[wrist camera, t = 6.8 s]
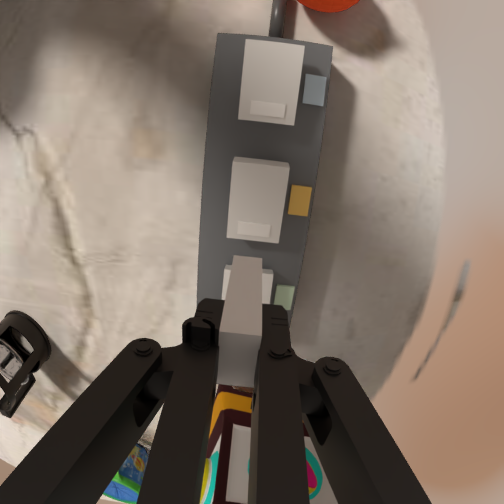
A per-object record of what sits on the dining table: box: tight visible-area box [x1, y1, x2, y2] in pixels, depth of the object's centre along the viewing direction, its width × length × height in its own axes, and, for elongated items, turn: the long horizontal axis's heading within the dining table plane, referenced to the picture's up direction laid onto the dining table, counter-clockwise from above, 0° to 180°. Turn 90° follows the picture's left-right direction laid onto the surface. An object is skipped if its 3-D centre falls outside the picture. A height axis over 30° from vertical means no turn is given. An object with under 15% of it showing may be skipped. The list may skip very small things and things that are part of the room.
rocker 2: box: [227, 157, 290, 243], centre depth 24 cm, size 6×4×2 cm, turn 174°
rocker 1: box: [238, 39, 305, 126], centre depth 21 cm, size 6×4×2 cm, turn 174°
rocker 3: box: [222, 265, 273, 304], centre depth 28 cm, size 6×4×2 cm, turn 174°
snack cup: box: [103, 444, 148, 504], centre depth 44 cm, size 16×10×10 cm
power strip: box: [197, 0, 333, 328], centre depth 27 cm, size 32×9×4 cm, turn 174°
